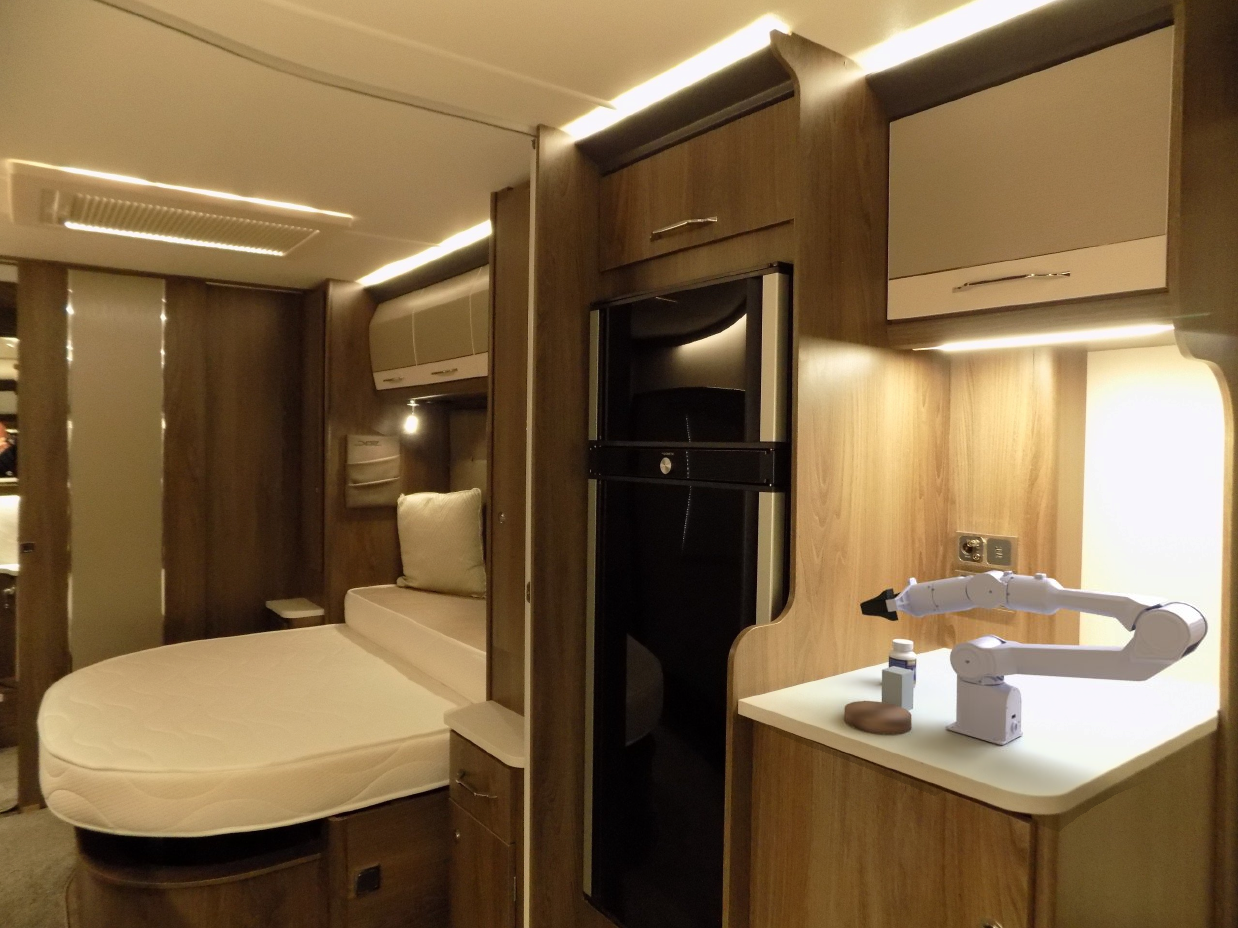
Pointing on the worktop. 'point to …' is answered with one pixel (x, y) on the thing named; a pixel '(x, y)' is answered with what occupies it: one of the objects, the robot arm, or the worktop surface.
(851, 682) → the worktop surface
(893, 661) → the pill bottle
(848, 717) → the plinth
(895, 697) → the block
